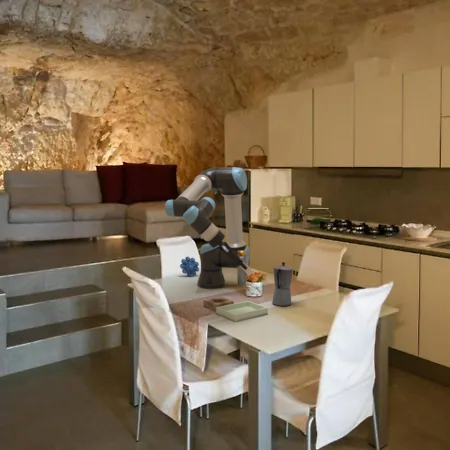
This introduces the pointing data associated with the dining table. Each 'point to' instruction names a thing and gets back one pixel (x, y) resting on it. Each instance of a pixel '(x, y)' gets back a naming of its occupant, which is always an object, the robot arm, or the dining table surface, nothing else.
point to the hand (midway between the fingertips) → (250, 272)
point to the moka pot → (282, 285)
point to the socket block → (216, 302)
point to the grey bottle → (241, 273)
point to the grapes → (189, 266)
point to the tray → (241, 311)
